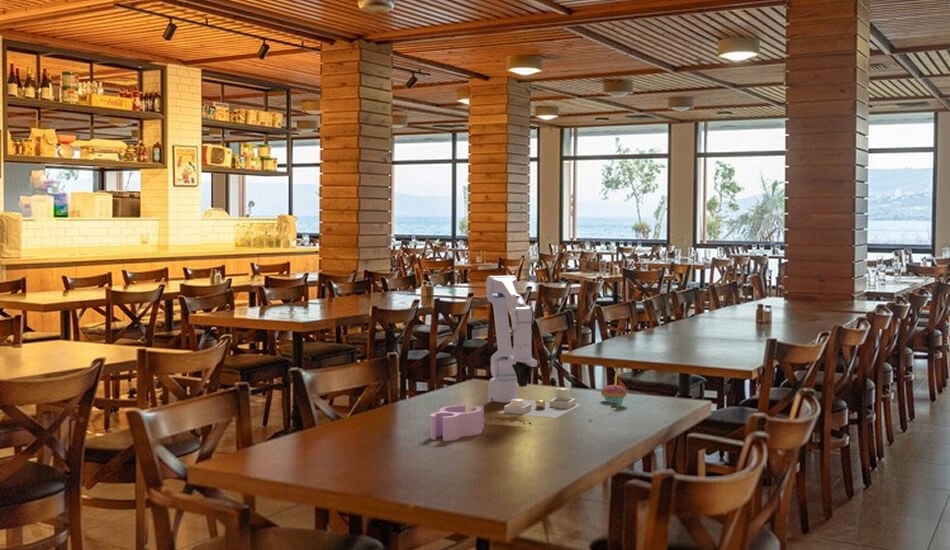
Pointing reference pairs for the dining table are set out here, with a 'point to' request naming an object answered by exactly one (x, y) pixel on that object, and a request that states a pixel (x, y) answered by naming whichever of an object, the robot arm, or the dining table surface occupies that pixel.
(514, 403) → the ivory knob
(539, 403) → the gold knob
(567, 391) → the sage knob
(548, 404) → the panel
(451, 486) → the dining table surface
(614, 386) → the cupcake
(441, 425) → the clip
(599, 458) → the dining table surface
